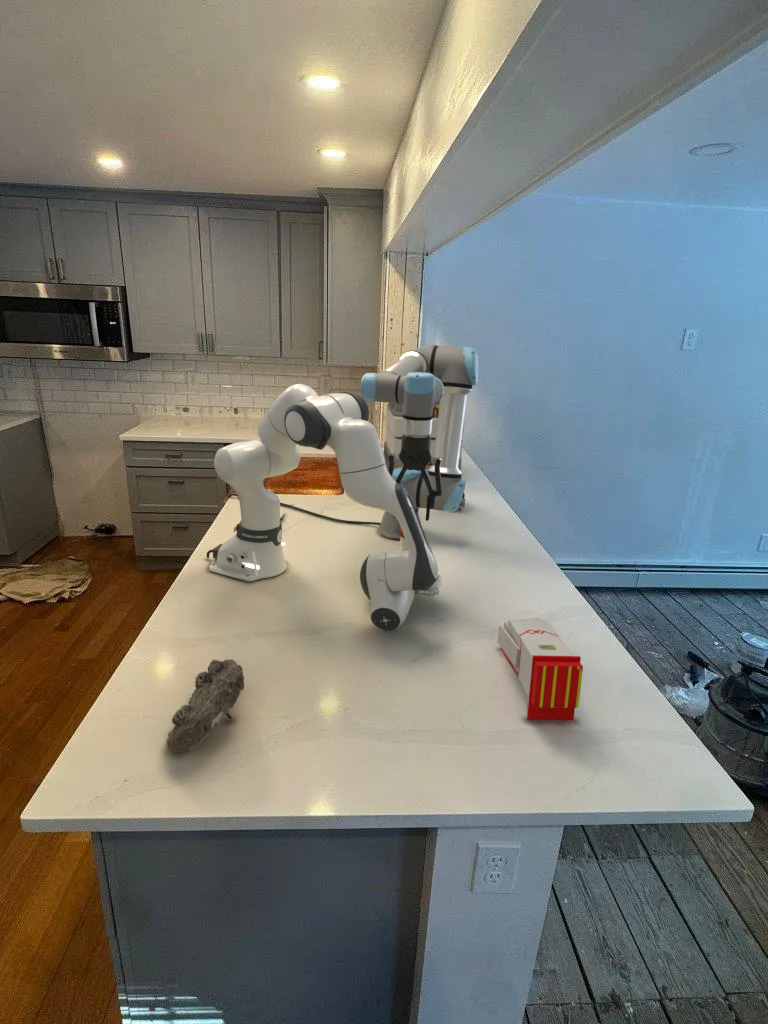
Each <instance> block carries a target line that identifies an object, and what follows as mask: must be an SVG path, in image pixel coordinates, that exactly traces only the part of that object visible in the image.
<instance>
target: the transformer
mask: <svg viewBox="0 0 768 1024" xmlns="http://www.w3.org/2000/svg"><path fill="white" fill-rule="evenodd" d="M439 404H440V401H439V402H438V403H437V404H435V405H433V414H432V431H431V434H430V435H429V436H430V437H431V444H430V454H431V456H432V457H434V448H435V439H436V430H437V422H438V413H439ZM403 409H404V404H399V403H388V404H387V405H386V413H385V414H386V415H385V423H386V428H385V438H384V442H383V453H384V457H385V461H386V466H387V468H389V456H390V454H391V453H393V454H400V452H401V443H402V435H403V434H404V433H403V432H402V424H403ZM464 429H465V419H464V421H463V430H462V438H461V447H460V455H459V463H458V469H459V470H460V471H461V472H462V461H463V460H462V453H463V442H464V441H463V440H462V439H463V438H464V431H465V430H464ZM403 466H404V465H403V463H402V461H401V460H400V458H398V460H397V462H396V463H395V466H394V469H396V468H401V467H403ZM431 466H432V461H430V462H429V463H428V464H427V465H426V467H431Z"/></svg>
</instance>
